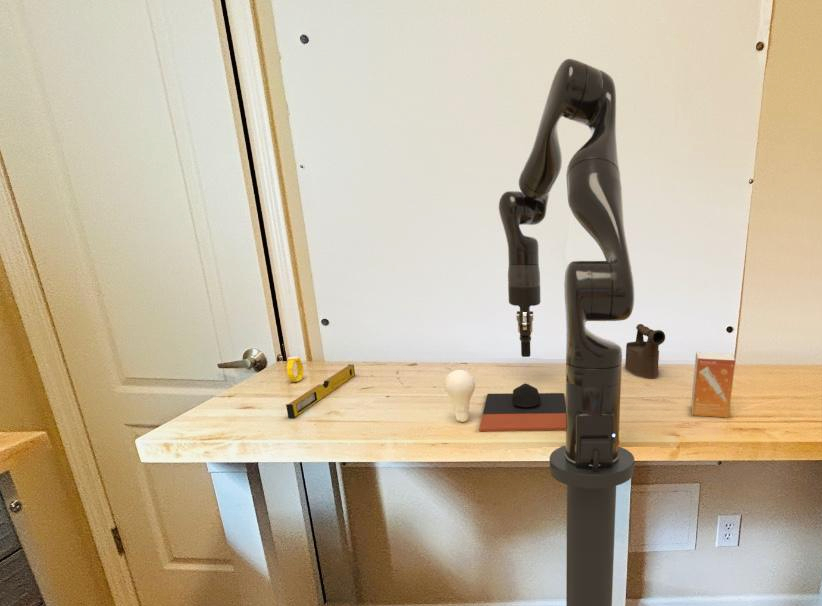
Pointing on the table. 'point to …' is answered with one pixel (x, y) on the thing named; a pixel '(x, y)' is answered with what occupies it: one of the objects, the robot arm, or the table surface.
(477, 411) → the table surface
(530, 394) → the gaming mouse
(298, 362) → the yellow ring
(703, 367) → the small box
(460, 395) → the lightbulb
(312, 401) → the spirit level
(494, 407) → the desk mat
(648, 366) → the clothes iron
